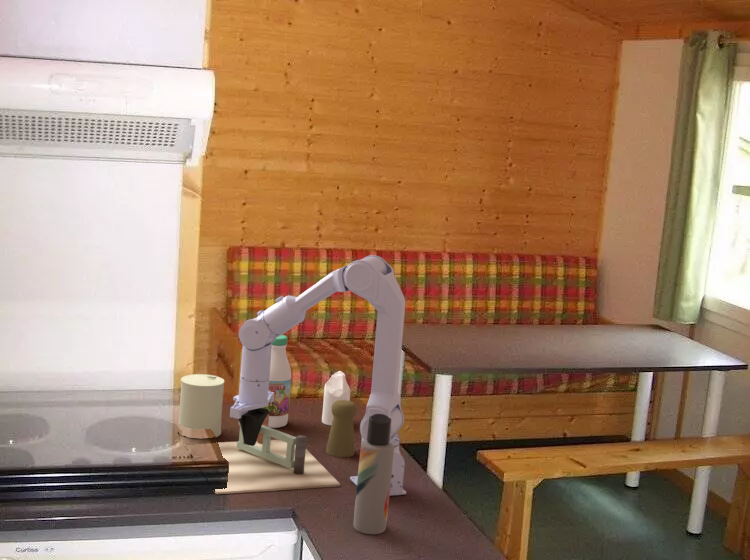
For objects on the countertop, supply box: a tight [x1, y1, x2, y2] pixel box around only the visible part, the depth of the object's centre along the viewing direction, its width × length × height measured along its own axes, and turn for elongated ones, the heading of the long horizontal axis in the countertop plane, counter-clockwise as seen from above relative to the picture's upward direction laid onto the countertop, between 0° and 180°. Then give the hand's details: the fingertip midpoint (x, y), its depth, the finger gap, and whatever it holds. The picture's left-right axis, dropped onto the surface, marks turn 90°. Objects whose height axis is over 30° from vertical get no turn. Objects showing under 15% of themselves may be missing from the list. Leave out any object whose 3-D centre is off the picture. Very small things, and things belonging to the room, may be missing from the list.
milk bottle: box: [263, 334, 292, 429], centre depth 222 cm, size 8×8×20 cm
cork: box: [325, 400, 358, 458], centre depth 208 cm, size 6×6×11 cm
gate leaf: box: [236, 421, 296, 468], centre depth 199 cm, size 15×1×6 cm, turn 52°
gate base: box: [214, 414, 341, 495], centre depth 196 cm, size 26×24×8 cm
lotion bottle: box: [353, 414, 394, 535], centre depth 170 cm, size 6×6×20 cm
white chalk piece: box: [321, 370, 351, 426], centre depth 228 cm, size 6×12×6 cm
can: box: [178, 373, 226, 438], centre depth 212 cm, size 9×9×12 cm
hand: (249, 444), depth 198 cm, fingers closed
